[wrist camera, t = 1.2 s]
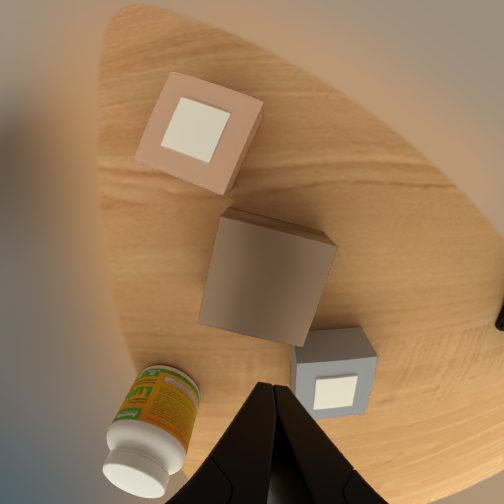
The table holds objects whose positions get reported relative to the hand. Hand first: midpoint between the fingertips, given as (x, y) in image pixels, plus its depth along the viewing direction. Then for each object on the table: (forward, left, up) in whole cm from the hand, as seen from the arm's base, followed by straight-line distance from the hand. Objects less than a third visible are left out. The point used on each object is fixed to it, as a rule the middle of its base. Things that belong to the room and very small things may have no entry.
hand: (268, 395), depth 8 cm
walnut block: (0, 0, -12) cm, 12 cm away
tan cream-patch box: (+5, -7, -12) cm, 15 cm away
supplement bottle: (+5, +12, -12) cm, 18 cm away
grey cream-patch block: (-6, +6, -12) cm, 15 cm away
